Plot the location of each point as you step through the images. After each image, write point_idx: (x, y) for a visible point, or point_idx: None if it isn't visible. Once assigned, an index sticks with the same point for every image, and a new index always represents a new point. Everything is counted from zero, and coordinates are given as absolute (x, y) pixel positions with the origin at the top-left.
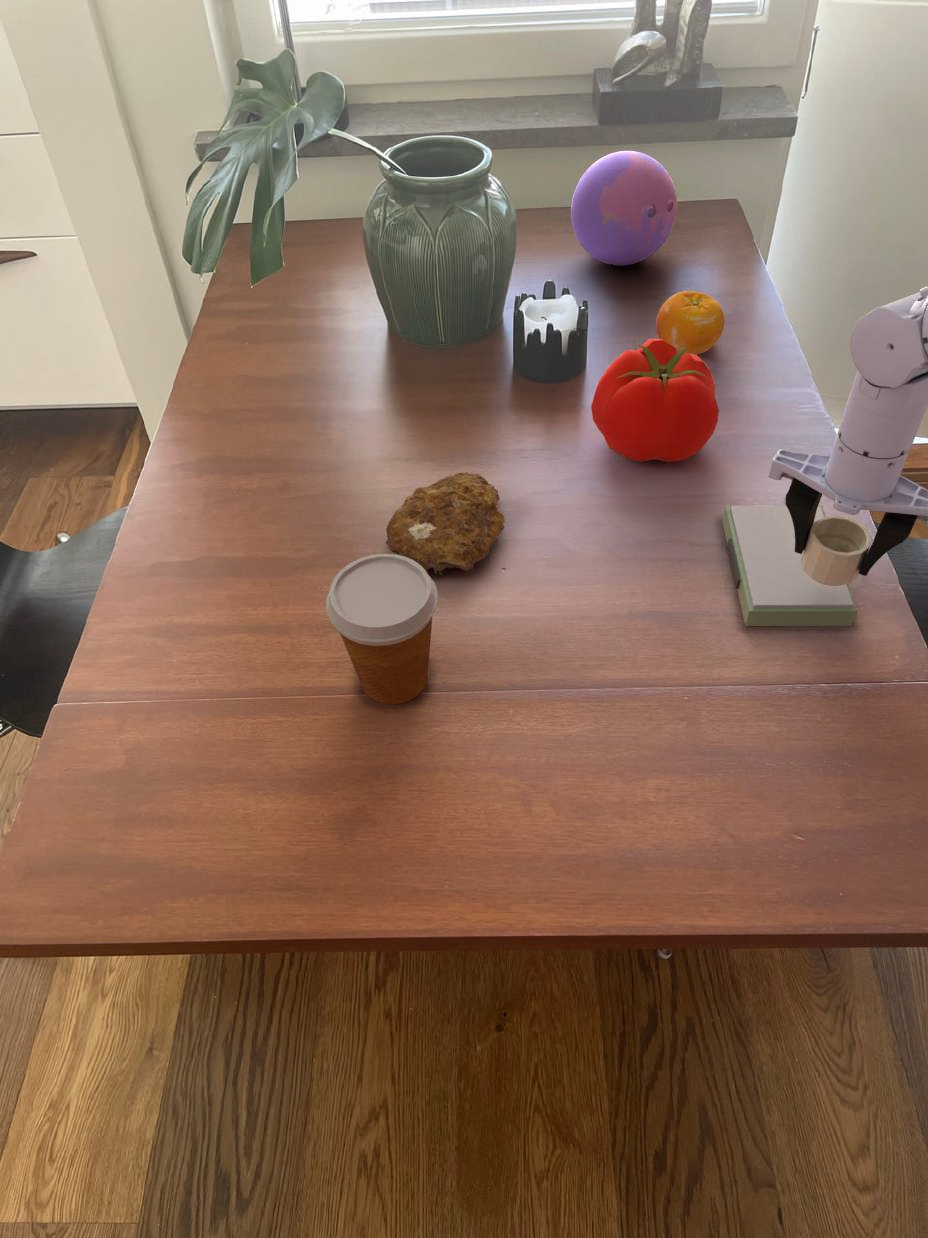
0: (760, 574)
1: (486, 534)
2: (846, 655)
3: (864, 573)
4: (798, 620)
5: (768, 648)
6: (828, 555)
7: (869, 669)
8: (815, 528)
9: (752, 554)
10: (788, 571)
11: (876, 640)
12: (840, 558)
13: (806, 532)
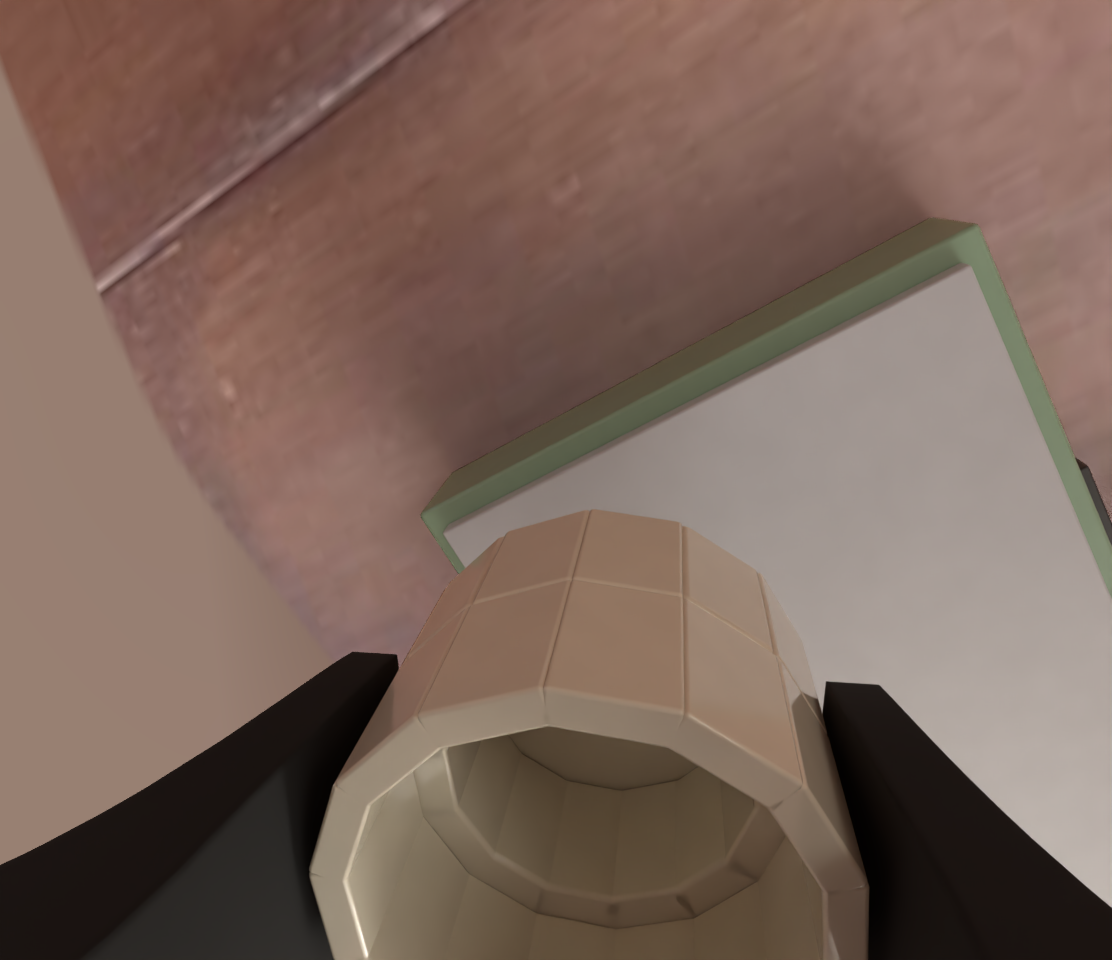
0: (983, 535)
1: None
2: (404, 287)
3: (348, 659)
4: (674, 363)
5: (765, 121)
6: (604, 665)
7: (287, 254)
8: (826, 937)
9: (1064, 666)
10: (827, 621)
11: (330, 443)
12: (490, 671)
13: (901, 865)
